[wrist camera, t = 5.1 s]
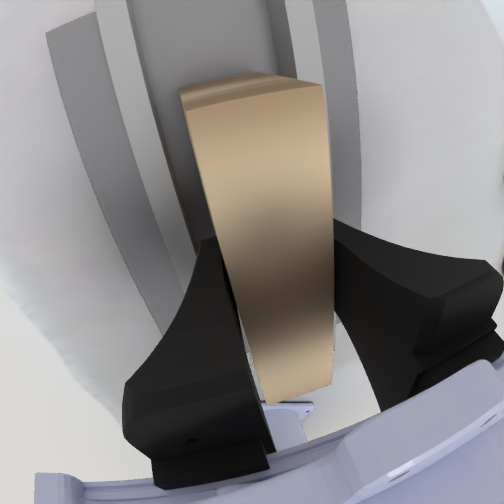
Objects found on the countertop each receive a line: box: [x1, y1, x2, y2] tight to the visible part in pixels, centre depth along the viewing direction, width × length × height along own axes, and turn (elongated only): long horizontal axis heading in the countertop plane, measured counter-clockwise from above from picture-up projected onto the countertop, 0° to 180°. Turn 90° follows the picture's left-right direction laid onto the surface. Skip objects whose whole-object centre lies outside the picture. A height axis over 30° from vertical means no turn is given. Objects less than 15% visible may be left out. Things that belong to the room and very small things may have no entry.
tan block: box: [178, 72, 334, 406], centre depth 12 cm, size 12×3×6 cm, turn 10°
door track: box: [46, 0, 361, 353], centre depth 14 cm, size 20×12×3 cm, turn 10°
